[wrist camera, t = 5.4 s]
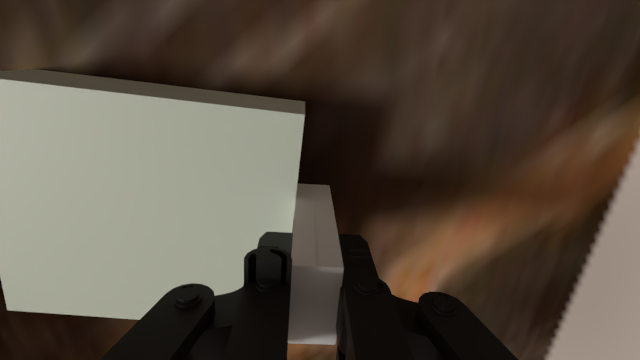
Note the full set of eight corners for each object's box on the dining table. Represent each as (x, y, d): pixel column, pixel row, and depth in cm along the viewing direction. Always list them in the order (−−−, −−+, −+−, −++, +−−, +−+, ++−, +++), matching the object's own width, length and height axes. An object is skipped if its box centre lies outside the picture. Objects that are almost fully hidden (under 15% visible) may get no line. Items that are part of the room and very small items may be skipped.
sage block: (305, 100, 17) (305, 115, 13) (286, 278, 20) (281, 329, 16) (39, 68, 16) (-43, 73, 12) (65, 260, 19) (7, 310, 16)
